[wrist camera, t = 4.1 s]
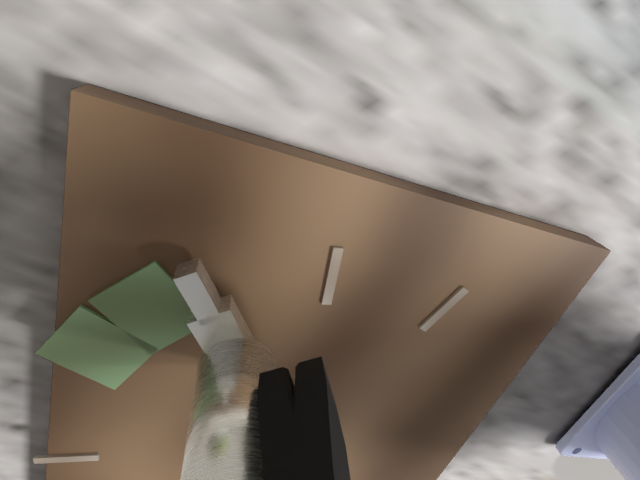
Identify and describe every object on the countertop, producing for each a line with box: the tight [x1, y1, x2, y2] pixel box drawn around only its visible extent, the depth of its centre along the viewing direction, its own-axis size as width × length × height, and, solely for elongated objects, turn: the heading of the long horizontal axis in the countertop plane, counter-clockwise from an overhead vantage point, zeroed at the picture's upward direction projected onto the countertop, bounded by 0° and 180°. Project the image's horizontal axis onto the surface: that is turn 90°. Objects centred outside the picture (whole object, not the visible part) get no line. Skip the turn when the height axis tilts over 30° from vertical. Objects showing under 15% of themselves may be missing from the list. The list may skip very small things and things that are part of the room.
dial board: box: [33, 84, 610, 480], centre depth 14 cm, size 16×18×1 cm
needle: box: [173, 257, 276, 480], centre depth 11 cm, size 11×3×5 cm, turn 16°
